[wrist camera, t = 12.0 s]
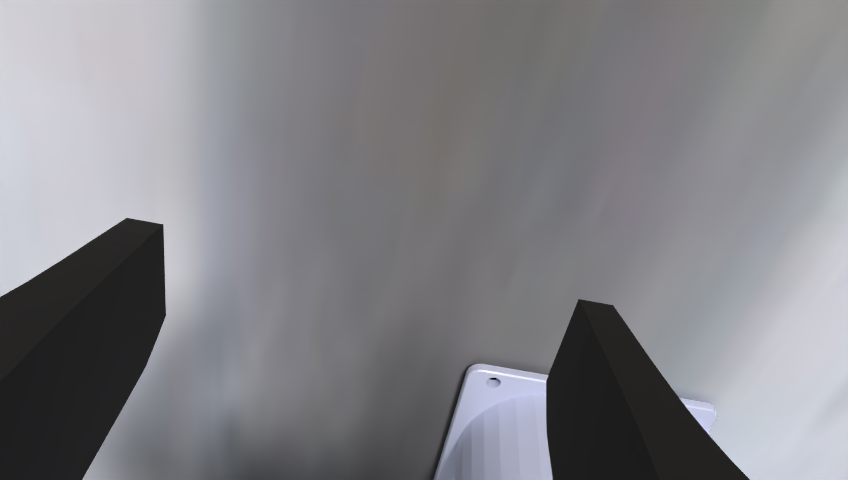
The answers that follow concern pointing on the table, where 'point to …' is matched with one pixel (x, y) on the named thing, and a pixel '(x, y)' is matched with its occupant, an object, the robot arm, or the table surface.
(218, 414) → the table surface
